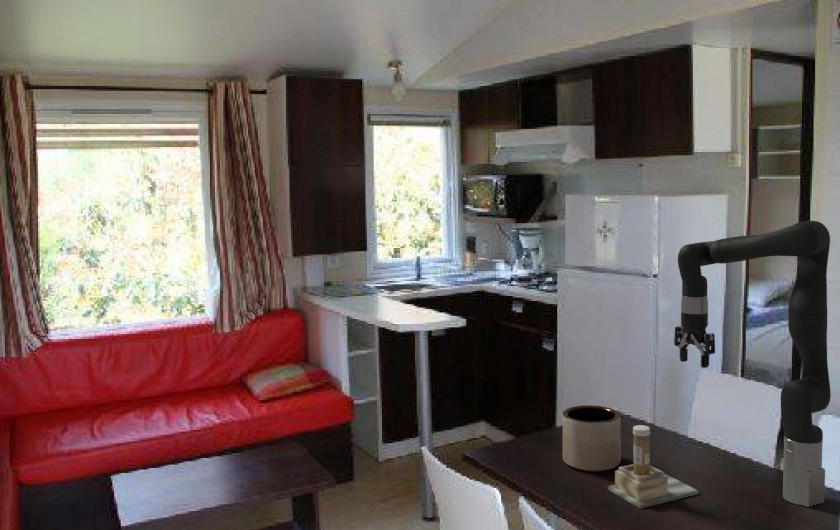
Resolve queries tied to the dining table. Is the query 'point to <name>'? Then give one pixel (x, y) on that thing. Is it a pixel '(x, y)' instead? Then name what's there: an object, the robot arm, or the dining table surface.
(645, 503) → the build base
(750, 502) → the dining table surface
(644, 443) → the sprinkles bottle
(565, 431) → the planter
